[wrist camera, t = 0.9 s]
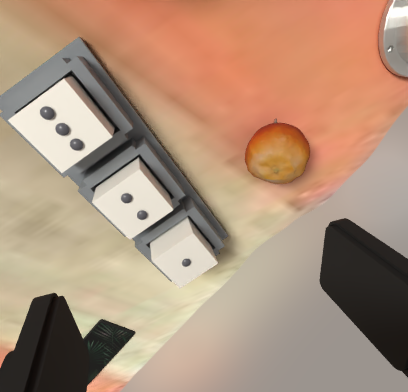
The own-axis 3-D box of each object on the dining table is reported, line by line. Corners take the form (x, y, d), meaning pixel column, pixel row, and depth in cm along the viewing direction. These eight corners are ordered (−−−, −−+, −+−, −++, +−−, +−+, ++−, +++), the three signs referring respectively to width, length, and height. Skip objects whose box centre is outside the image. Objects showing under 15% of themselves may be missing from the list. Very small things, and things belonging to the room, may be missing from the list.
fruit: (317, 136, 38) (324, 176, 33) (269, 162, 43) (268, 201, 38) (284, 94, 35) (286, 131, 29) (235, 127, 39) (230, 165, 34)
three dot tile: (72, 76, 27) (63, 78, 23) (114, 127, 30) (112, 137, 26) (23, 112, 27) (6, 120, 23) (69, 159, 30) (61, 174, 26)
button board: (80, 37, 29) (72, 34, 25) (225, 231, 44) (235, 249, 40) (-3, 100, 29) (-24, 106, 25) (168, 270, 44) (172, 290, 40)
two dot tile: (138, 156, 31) (139, 169, 28) (169, 194, 34) (173, 210, 31) (96, 186, 32) (91, 203, 28) (130, 221, 35) (129, 240, 31)
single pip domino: (187, 216, 36) (193, 234, 33) (210, 244, 39) (218, 264, 35) (149, 241, 37) (151, 262, 33) (175, 268, 40) (180, 289, 36)
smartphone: (135, 333, 48) (86, 387, 51) (135, 328, 49) (86, 382, 52) (100, 320, 45) (49, 379, 48) (101, 315, 46) (50, 373, 48)
